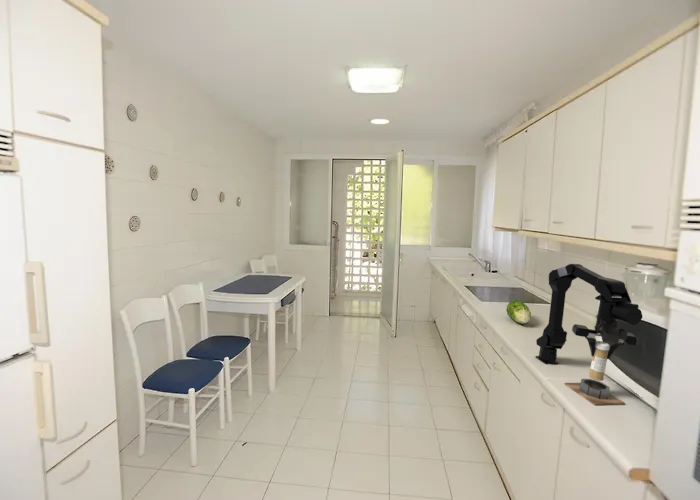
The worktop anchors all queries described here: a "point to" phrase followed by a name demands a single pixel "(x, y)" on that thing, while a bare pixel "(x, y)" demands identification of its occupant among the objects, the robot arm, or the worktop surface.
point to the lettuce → (518, 311)
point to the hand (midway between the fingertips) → (599, 357)
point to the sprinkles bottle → (599, 360)
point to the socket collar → (594, 388)
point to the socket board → (610, 401)
